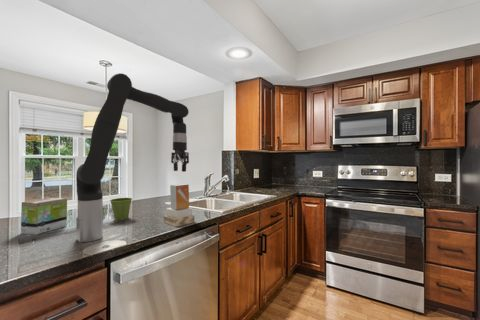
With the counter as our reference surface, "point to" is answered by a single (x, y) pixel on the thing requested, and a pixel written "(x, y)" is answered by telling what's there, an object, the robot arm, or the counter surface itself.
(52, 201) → the tea box
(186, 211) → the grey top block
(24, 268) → the counter surface
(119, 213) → the plant pot
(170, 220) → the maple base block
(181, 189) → the small box
